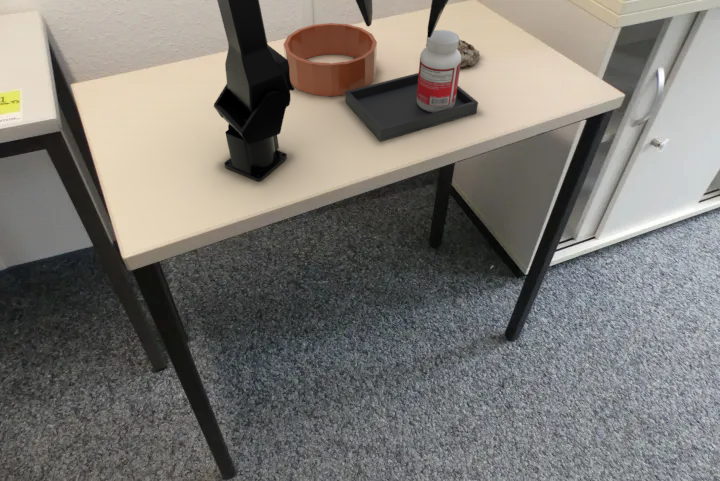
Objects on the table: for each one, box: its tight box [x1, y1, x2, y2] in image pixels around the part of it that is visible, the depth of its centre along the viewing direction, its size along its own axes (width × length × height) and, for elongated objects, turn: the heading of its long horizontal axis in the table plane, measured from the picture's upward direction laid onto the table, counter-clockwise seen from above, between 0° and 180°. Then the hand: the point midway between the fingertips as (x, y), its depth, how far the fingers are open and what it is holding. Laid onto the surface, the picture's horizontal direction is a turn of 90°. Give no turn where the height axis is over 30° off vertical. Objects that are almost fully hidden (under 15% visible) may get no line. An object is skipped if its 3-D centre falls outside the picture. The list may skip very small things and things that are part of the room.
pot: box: [283, 22, 378, 97], centre depth 90 cm, size 15×15×6 cm
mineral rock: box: [457, 38, 481, 67], centre depth 96 cm, size 11×4×8 cm
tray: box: [344, 72, 479, 142], centre depth 84 cm, size 17×12×2 cm
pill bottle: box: [417, 29, 461, 113], centre depth 80 cm, size 6×6×11 cm
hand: (398, 30), depth 75 cm, fingers open, 9 cm apart
